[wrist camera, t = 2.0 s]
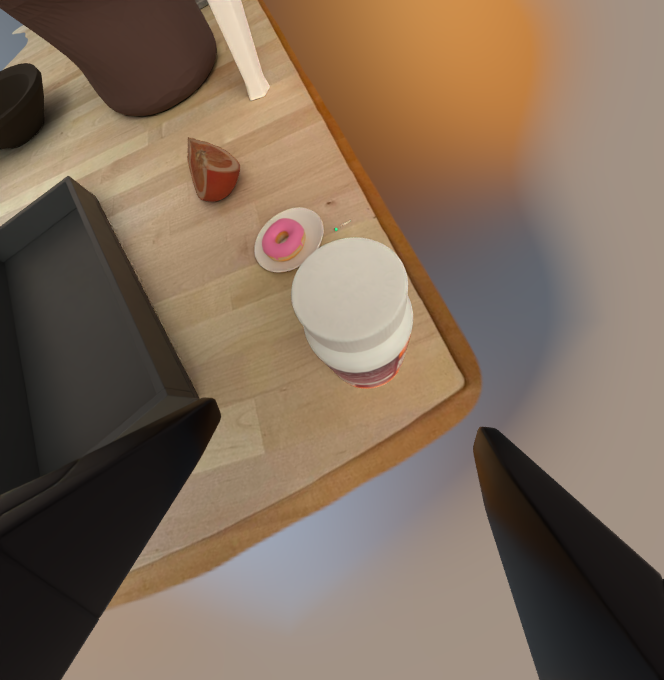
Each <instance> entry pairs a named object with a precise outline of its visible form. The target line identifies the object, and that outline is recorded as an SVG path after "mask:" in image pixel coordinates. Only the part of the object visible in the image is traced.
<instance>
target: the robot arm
mask: <svg viewBox="0 0 664 680" xmlns="http://www.w3.org/2000/svg"><path fill="white" fill-rule="evenodd" d="M220 419H221V413H220V410H219V408H218V405H217V403H216V400H215V399H213V398H206V397H205V398H201V399H199V400H197V401H195V402H193V403H191V404H189V405H187V406H185V407H183V408H181V409H179V410H176V411H174V412H172V413H170V414H168V415H166V416H164V417H162V418H160V419H158V420H156V421H154V422H152V423H150V424H148V425H146V426H144V427H142V428H140V429H138V430H136V431H134V432H132V433H130V434H127V435H125V436H123V437H121V438H119V439H117V440H115V441H113V442H111V443H109V444H107V445H105V446H103V447H101V448H99V449H97V450H95V451H93V452H91V453H89V454H87V455H85V456H83V457H81V458H80V459H76V460H74V461H72V462H70V463H68V464H66V465H64V466H62V467H60V468H58V469H56V470H54V471H52V472H50V473H47V474H45V475H43V476H41V477H39V478H37V479H35V480H33V481H30V482H28V483H26V484H24V485H22V486H19V487H17V488H15V489H13V490H11V491H8V492H6V493H4V494H2V495H0V680H61V679H62V677H63V676H64V674H65V672H66V671H67V670H68V668H69V666H70V665H71V663H72V662H73V660H74V658H75V657H76V655H77V654H78V652H79V651H80V649H81V647H82V646H83V644H84V643H85V641H86V639H87V638H88V636H89V635H90V633H91V631H92V630H93V628H94V627H95V625H96V624H97V622H98V620H99V618H100V617H101V615H102V614H103V612H104V611H105V609H106V607H107V606H108V604H109V603H110V601H111V599H112V598H113V596H114V595H115V593H116V592H117V590H118V588H119V587H120V585H121V584H122V582H123V580H124V579H125V577H126V576H127V574H128V573H129V571H130V569H131V568H132V566H133V565H134V563H135V561H136V560H137V558H138V557H139V555H140V554H141V552H142V550H143V549H144V547H145V546H146V544H147V542H148V541H149V539H150V538H151V536H152V535H153V533H154V531H155V530H156V528H157V527H158V525H159V523H160V522H161V520H162V519H163V517H164V516H165V514H166V512H167V511H168V509H169V508H170V506H171V504H172V503H173V501H174V500H175V498H176V497H177V495H178V493H179V492H180V490H181V489H182V487H183V485H184V484H185V482H186V481H187V479H188V478H189V476H190V474H191V473H192V471H193V470H194V468H195V467H196V465H197V463H198V462H199V460H200V458H201V456H202V455H203V453H204V451H205V449H206V447H207V445H208V443H209V441H210V439H211V437H212V435H213V433H214V431H215V430H216V428H217V426H218V424H219V422H220ZM473 452H474V458H475V463H476V468H477V472H478V477H479V482H480V487H481V492H482V496H483V501H484V506H485V510H486V513H487V517H488V520H489V523H490V526H491V530H492V532H493V536H494V539H495V542H496V545H497V548H498V551H499V555H500V558H501V561H502V564H503V567H504V570H505V573H506V576H507V579H508V583H509V586H510V589H511V592H512V595H513V598H514V602H515V605H516V608H517V611H518V613H519V617H520V620H521V623H522V627H523V630H524V633H525V636H526V639H527V642H528V645H529V648H530V652H531V655H532V658H533V661H534V664H535V667H536V670H537V673H538V676H539V680H664V579H662V577H661V575H660V574H659V573H658V572H657V571H656V570H655V569H654V568H653V567H652V566H651V565H649V564H648V563H647V562H646V561H645V560H644V559H643V558H642V557H640V556H639V555H638V554H637V553H636V552H635V551H633V549H631V548H630V547H629V546H628V545H627V544H626V543H625V542H624V541H622V540H621V539H620V538H619V537H618V536H617V535H616V534H615V533H613V532H612V531H611V530H610V529H609V528H608V527H606V525H604V524H603V523H602V522H601V521H600V520H599V519H598V518H596V517H595V516H594V515H593V514H592V513H591V512H589V511H588V510H587V509H586V508H585V507H584V506H583V505H582V504H581V503H580V502H579V501H577V500H576V499H575V498H574V497H573V496H572V495H571V494H570V493H568V492H567V491H566V490H565V489H564V488H563V487H562V486H561V485H559V484H558V483H557V482H556V481H555V480H554V479H553V478H551V477H550V476H549V475H548V474H547V473H546V472H545V471H543V470H542V469H541V468H540V467H539V466H538V465H537V464H536V463H534V462H533V461H532V460H531V459H530V458H529V457H528V456H527V455H526V454H524V453H523V452H522V451H521V450H520V449H519V448H518V447H517V446H515V445H514V444H513V443H512V442H511V441H510V440H509V439H508V438H506V437H505V436H504V435H503V434H502V433H501V432H499V430H497V429H495V428H490V427H479V429H478V431H477V435H476V438H475V442H474V446H473Z"/></svg>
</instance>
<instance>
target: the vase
mask: <svg viewBox="0 0 664 680" xmlns="http://www.w3.org/2000/svg"><path fill="white" fill-rule="evenodd" d="M0 8H1V9H2V10H4V11H5V12H6V13H8V14H9V15H10V16H12V17H13V18H15V19H16V20H18V21H19V22H20V23H22V24H23V25H25V26H26V27H28V28H29V29H30V30H32V31H33V32H35V33H36V34H38V35H39V36H40V37H42V38H43V39H45V40H46V41H47V42H49V43H50V44H51V45H53V46H54V47H55V48H57V49H58V50H59V51H60V52H62V53H63V54H64V55H66V56H67V57H68V58H69V59H70V60H71V61H72V62H74V63H75V64H76V65H77V66H78V67H79V69H80V70H81V71H82V72H83V74H84V75H85V76H86V78H87V79H88V81H89V82H90V84H91V85H92V87H93V88H94V90H95V91H96V92H97V93H98V95H99V96H100V97H101V98H102V100H103V101H104V102H105V103H106V104H107V105H108V106H109V107H110V108H112V109H113V110H114V111H116V112H119V113H121V114H124V115H129V116H147V115H152V114H156V113H159V112H162V111H165V110H167V109H169V108H171V107H173V106H174V105H176V104H178V103H180V102H181V101H183V100H184V99H186V98H187V97H189V96H190V95H191V94H192V93H193V92H194V91H196V90H197V89H198V88H199V87H200V86H201V85H202V83H203V82H204V81H205V79H206V78H207V76H208V75H209V73H210V71H211V70H212V67H213V65H214V62H215V59H216V53H217V49H216V41H215V38H214V35H213V33H212V31H211V29H210V27H209V25H208V23H207V21H206V20H205V18H204V16H203V14H202V12H201V10H200V9H199V7H198V5H197V3H196V2H195V0H0Z"/></svg>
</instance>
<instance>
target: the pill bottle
mask: <svg viewBox="0 0 664 680" xmlns="http://www.w3.org/2000/svg"><path fill="white" fill-rule="evenodd" d="M407 293H408V279H407V274H406V270H405V268H404V265H403V263H402V261H401V260H400V258H399V257H398V256H397V255H396V254H395V253H394V252H393V251H392V250H391V249H390V248H388V247H387V246H385V245H384V244H382V243H379V242H377V241H374V240H371V239H366V238H359V237H352V238H343V239H339V240H335V241H332V242H330V243H327V244H325V245H323V246H321V247H320V248H318V249H317V250H315V251H314V252H313V253H312V254H310V255H309V256H308V257H307V258H306V259H305V260H304V262H303V263H302V264H301V266H300V267H299V269H298V271H297V272H296V275H295V277H294V280H293V283H292V290H291V300H292V305H293V309H294V312H295V314H296V316H297V318H298V320H299V321H300V323H301V324H302V325H303V326H304V331H305V335H306V338H307V341H308V343H309V345H310V347H311V348H312V350H313V351H314V352H315V354H316V355H317V356H318V357H319V358H320V359H321V360H322V361H323V362H324V363H325V364H326V365H327V366H328V367H329V368H331V369H332V370H333V371H334V372H335V373H336V374H337V375H338V376H339V377H340V378H341V379H342V380H343V381H345V382H346V383H348V384H350V385H352V386H354V387H358V388H364V389H370V388H376V387H380V386H382V385H384V384H386V383H388V382H389V381H390V380H392V379H393V378H394V377H395V375H396V374H397V373H398V371H399V369H400V367H401V365H402V362H403V360H404V356H405V353H406V350H407V346H408V343H409V339H410V335H411V331H412V326H413V310H412V305H411V302H410V299H409V297H408V295H407Z"/></svg>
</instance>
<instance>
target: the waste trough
mask: <svg viewBox="0 0 664 680" xmlns="http://www.w3.org/2000/svg"><path fill="white" fill-rule="evenodd" d="M197 400H199V397H198V395H197V393H196V391H195V389H194V387H193V385H192V383H191V382H190V380H189V378H188V376H187V374H186V372H185V370H184V368H183V366H182V364H181V362H180V360H179V358H178V356H177V354H176V352H175V350H174V348H173V346H172V344H171V343H170V341H169V339H168V337H167V335H166V333H165V331H164V329H163V327H162V325H161V323H160V321H159V319H158V317H157V315H156V313H155V311H154V309H153V307H152V306H151V304H150V302H149V300H148V298H147V296H146V294H145V292H144V290H143V288H142V286H141V284H140V282H139V280H138V278H137V276H136V274H135V272H134V270H133V268H132V267H131V265H130V263H129V261H128V259H127V257H126V255H125V253H124V251H123V249H122V247H121V245H120V243H119V241H118V239H117V237H116V235H115V233H114V231H113V230H112V228H111V226H110V224H109V222H108V220H107V218H106V216H105V214H104V212H103V210H102V208H101V206H100V204H99V202H98V200H97V198H96V197H95V196H94V195H93V194H91V193H90V192H89V191H88V190H86V189H85V188H84V187H83V186H81V185H80V184H79V183H77V182H76V181H75V180H73V179H72V178H71V177H70V176H67V177H66V178H64V179H63V180H62V181H60V182H59V183H58V184H56V185H55V186H54V187H52V188H51V189H50V190H48V191H47V192H46V193H44V194H43V195H42V196H40V197H39V198H38V199H36V200H35V201H34V202H32V203H31V204H30V205H28V206H27V207H26V208H24V209H23V210H22V211H20V212H19V213H18V214H16V215H15V216H14V217H12V218H11V219H10V220H8V221H7V222H6V223H4V224H3V225H2V226H0V495H2V494H4V493H6V492H8V491H11V490H13V489H15V488H17V487H19V486H22V485H24V484H26V483H28V482H30V481H33V480H35V479H37V478H39V477H41V476H43V475H45V474H47V473H50V472H52V471H54V470H56V469H58V468H60V467H62V466H64V465H66V464H68V463H70V462H72V461H74V460H76V459H80V458H81V457H83V456H85V455H87V454H89V453H91V452H93V451H95V450H97V449H99V448H101V447H103V446H105V445H107V444H109V443H111V442H113V441H115V440H117V439H119V438H121V437H123V436H125V435H127V434H130V433H132V432H134V431H136V430H138V429H140V428H142V427H144V426H146V425H148V424H150V423H152V422H154V421H156V420H158V419H160V418H162V417H164V416H166V415H168V414H170V413H172V412H174V411H176V410H179V409H181V408H183V407H185V406H187V405H189V404H191V403H193V402H195V401H197Z"/></svg>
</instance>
